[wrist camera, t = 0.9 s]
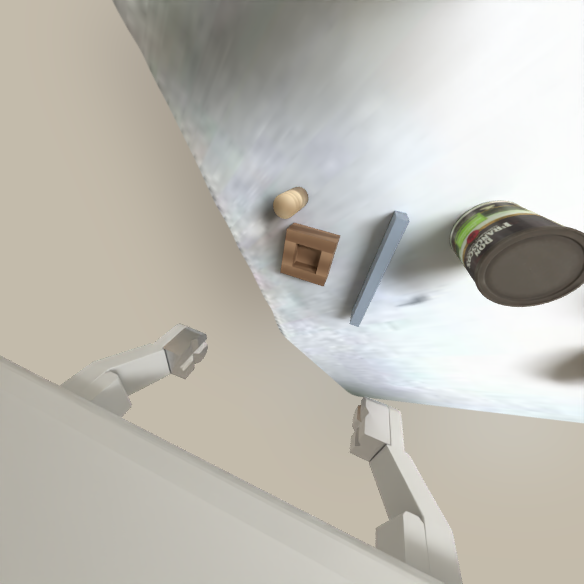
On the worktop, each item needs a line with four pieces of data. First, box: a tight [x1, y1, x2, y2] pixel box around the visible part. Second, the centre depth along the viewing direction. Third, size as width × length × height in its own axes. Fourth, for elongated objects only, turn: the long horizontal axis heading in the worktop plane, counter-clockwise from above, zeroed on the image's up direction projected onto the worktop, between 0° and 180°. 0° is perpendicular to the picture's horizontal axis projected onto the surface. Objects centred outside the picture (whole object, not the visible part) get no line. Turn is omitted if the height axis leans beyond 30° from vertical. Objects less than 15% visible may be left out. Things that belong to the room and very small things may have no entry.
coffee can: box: [450, 201, 584, 307], centre depth 31 cm, size 10×10×14 cm
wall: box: [350, 211, 409, 327], centre depth 44 cm, size 24×2×5 cm, turn 170°
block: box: [280, 223, 340, 286], centre depth 47 cm, size 10×10×4 cm
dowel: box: [273, 187, 308, 219], centre depth 40 cm, size 4×4×8 cm
